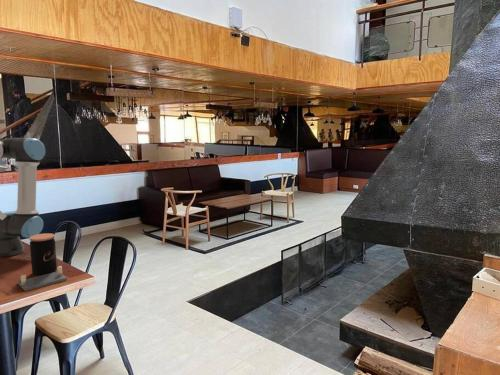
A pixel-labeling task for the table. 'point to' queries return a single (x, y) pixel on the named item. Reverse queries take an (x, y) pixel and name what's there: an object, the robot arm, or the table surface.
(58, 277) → the peg board
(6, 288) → the table surface
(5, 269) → the table surface
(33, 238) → the coffee jar
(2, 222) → the robot arm
